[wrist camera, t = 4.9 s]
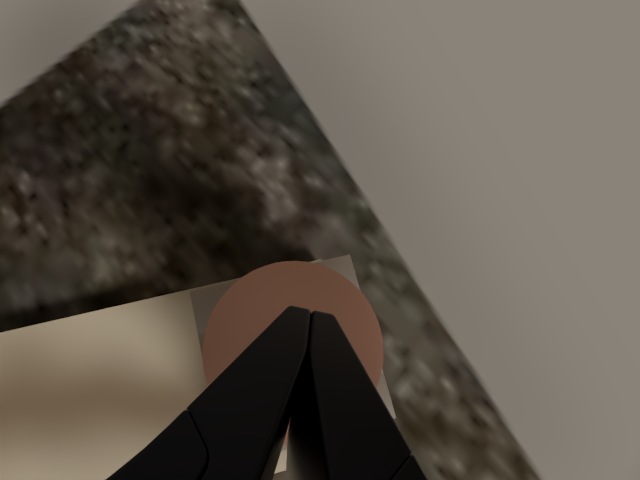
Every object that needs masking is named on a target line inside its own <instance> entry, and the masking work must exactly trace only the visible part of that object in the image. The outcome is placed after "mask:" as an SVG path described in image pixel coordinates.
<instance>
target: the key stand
mask: <svg viewBox="0 0 640 480" xmlns="http://www.w3.org/2000/svg"><path fill="white" fill-rule="evenodd" d="M310 263H315V264H319V265H322V266H324V267H327V268H330V269H332V270H334V271H335V272H337V273H339V274H341V275H342V276H344V277H345V278H347V279H348V280H349V281H350V282H351V283H353V284H354V285H355V286H356V287H357V288H358V289H359V290H360V288H359V285H358V281H357V278H356V274H355V271H354V267H353V264H352V260H351V257H350V255H345V256H341V257H337V258H332V259H328V260H324V261H322V260H321V259H319V260H315V261H311V262H310ZM241 278H242V277H241ZM241 278H236V279H232V280H228V281H223V282H219V283H215V284H210V285H206V286H202V287H197V288H193V289H189V290H184V291H180V292H175V293H171V294H167V295H162V296H158V297H154V298H149V299H145V300H141V301H136V302H132V303H128V304H123V305H119V306H114V307H110V308H106V309H101V310H97V311H93V312H88V313H84V314H80V315H75V316H71V317H67V318H62V319H58V320H53V321H49V322H45V323H40V324H36V325H32V326H27V327H23V328H19V329H14V330H10V331H5V332H1V333H0V480H106V479H107V478H108V477H109V476H111V475H112V474H113V473H115V472H116V471H117V470H118V469H119V468H121V467H122V466H123V465H124V464H125V463H127V462H128V461H129V460H130V459H132V458H133V457H134V456H135V455H136V454H138V453H139V452H140V451H141V450H143V449H144V448H145V447H146V446H147V445H148V444H149V443H150V442H151V441H152V440H153V439H155V438H156V437H157V436H158V435H159V434H160V433H161V432H162V431H163V430H164V429H165V428H166V427H167V426H169V425H170V424H171V423H172V422H173V421H174V420H175V419H176V418H177V417H178V416H179V415H180V414H181V413H182V412H183V411H184V410H186V409H187V407H188V406H189V405H190V404H191V403H192V402H193V401H194V400H195V399H196V398H197V397H198V396H199V395H200V394H201V393H202V392H203V391H204V390H205V389H206V388H207V387H208V385H207V381H206V377H205V374H204V367H203V341H204V335H205V331H206V327H207V324H208V321H209V319H210V316H211V314H212V312H213V310H214V308H215V307H216V305H217V303H218V301H219V300H220V299H221V298H222V296H223V295H224V294H225V292H226V291H227V290H228V289H229V288H230V287H231V286H232V285H233V284H234V283H236V282H237V281H238V280H239V279H241ZM376 389H377V391H378V393H379V394H380V396H381V398H382V400H383V401H384V403H385V405H386V407H387V409H388V410H389V412H390V414H391V416H392V417H393V419H394V418H396V416H395V412H394V409H393V405H392V402H391V398H390V395H389V391H388V388H387V384H386V380H385V377H384V373H383V370H382V371H381V376H380V379H379V383H378V386H377V388H376ZM286 460H287V446H285V445H283V447H282V450H281V453H280V457H279V460H278V463H277V466H276V469H275V473H278V472H281V471H284V470H286Z"/></svg>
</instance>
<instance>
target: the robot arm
mask: <svg viewBox="0 0 640 480" xmlns="http://www.w3.org/2000/svg"><path fill="white" fill-rule="evenodd" d="M289 421H290V422H289ZM288 425H289V429H288ZM287 429H288V440H287V460H286V480H428V478H427V477H426V475H425V473H424V472H423V470H422V468H421V466H420V465H419V463H418V461H417V459H416V458H415V456H414V455H412V451H411V449H410V447H409V446H408V444H407V442H406V440H405V438H404V437H403V435H402V433H401V431H400V430H399V428H398V426H397V424H396V423H395V421H394V419H393V417H392V416H391V414H390V412H389V410H388V409H387V407H386V405H385V403H384V401H383V400H382V398H381V396H380V394H379V393H378V391H377V389H376V387H375V386H374V384H373V382H372V380H371V379H370V377H369V375H368V373H367V371H366V370H365V368H364V366H363V364H362V363H361V361H360V359H359V357H358V356H357V354H356V352H355V350H354V349H353V347H352V345H351V343H350V341H349V340H348V338H347V336H346V334H345V333H344V331H343V329H342V327H341V326H340V324H339V322H338V320H337V319H336V317H335V316H334V315H333V314H330V313H325V312H321V311H313V312H312V313H311V311H310V310H309V309H306V308H301V307H297V306H288V307H287V308H286V309H285V310H284V311H283V312H282V313H281V314H280V315H279V316H278V317H277V318H276V319H275V320H274V321H273V322H272V323H271V324H270V325H269V326H268V327H267V328H266V329H265V330H264V331H263V332H262V333H261V334H260V335H259V336H258V337H257V338H256V339H255V340H254V341H253V342H252V343H251V344H250V345H249V346H248V347H247V348H246V349H245V350H244V351H243V352H242V353H241V354H240V355H239V356H238V357H237V358H236V359H235V360H234V361H233V362H232V363H231V364H230V365H229V366H228V367H227V368H226V369H225V370H224V371H223V372H222V373H221V374H220V375H219V376H218V377H217V378H216V379H215V380H214V381H213V382H212V383H211V384H210V385H209V386H208V387H207V388H206V389H205V390H204V391H203V392H202V393H201V394H200V395H199V396H198V397H197V398H196V399H195V400H194V401H193V402H192V403H191V404H190V405H189V406H188V407H187V409H186V410H184V411H183V412H182V413H181V414H180V415H179V416H178V417H177V418H176V419H175V420H174V421H173V422H172V423H171V424H170V425H169V426H167V427H166V428H165V429H164V430H163V431H162V432H161V433H160V434H159V435H158V436H157V437H156V438H155V439H153V440H152V441H151V442H150V443H149V444H148V445H147V446H146V447H145V448H144V449H143V450H141V451H140V452H139V453H138V454H136V455H135V456H134V457H133V458H132V459H130V460H129V461H128V462H127V463H125V464H124V465H123V466H122V467H121V468H119V469H118V470H117V471H116V472H115V473H113V474H112V475H111V476H109V477H108V478H107V479H106V480H272V479H273V476H274V473H275V469H276V466H277V463H278V460H279V457H280V453H281V450H282V447H283V444H284V440H285V436H286V433H287Z"/></svg>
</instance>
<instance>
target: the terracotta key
mask: <svg viewBox="0 0 640 480" xmlns="http://www.w3.org/2000/svg"><path fill="white" fill-rule="evenodd" d="M288 306H297V307H301V308H306V309H309V310H310V311H311V313H312V312H313V311H321V312H325V313H330V314H333V315H334V316H335V317H336V319H337V320H338V322H339V324H340V326H341V327H342V329H343V331H344V333H345V334H346V336H347V338H348V340H349V341H350V343H351V345H352V347H353V349H354V350H355V352H356V354H357V356H358V357H359V359H360V361H361V363H362V364H363V366H364V368H365V370H366V371H367V373H368V375H369V377H370V379H371V380H372V382H373V384H374V386H375V387H376V388H377V386H378V383H379V379H380V376H381V371H382V365H383V339H382V334H381V330H380V326H379V323H378V320H377V317H376V315H375V313H374V311H373V309H372V307H371V305H370V304H369V302H368V301H367V299H366V298H365V296H364V295H363V294H362V293H361V291H360V290H359V289H358V288H357V287H356V286H355V285H354V284H353V283H351V282H350V281H349V280H348V279H347V278H345V277H344V276H342V275H341V274H339V273H337V272H335V271H334V270H332V269H330V268H327V267H324V266H322V265H319V264H315V263H310V262H303V261H284V262H277V263H273V264H269V265H266V266H263V267H260V268H258V269H256V270H254V271H252V272H250V273H248V274H247V275H245V276H243V277H242V278H241V279H239V280H238V281H237V282H236V283H234V284H233V285H232V286H231V287H230V288H229V289H228V290H227V291H226V292H225V294H224V295H223V296H222V298H221V299H220V300H219V301H218V303H217V305H216V307H215V308H214V310H213V312H212V314H211V316H210V319H209V321H208V324H207V327H206V331H205V335H204V341H203V367H204V374H205V377H206V381H207V385H208V386H209V385H210V384H211V383H212V382H213V381H214V380H215V379H216V378H217V377H218V376H219V375H220V374H221V373H222V372H223V371H224V370H225V369H226V368H227V367H228V366H229V365H230V364H231V363H232V362H233V361H234V360H235V359H236V358H237V357H238V356H239V355H240V354H241V353H242V352H243V351H244V350H245V349H246V348H247V347H248V346H249V345H250V344H251V343H252V342H253V341H254V340H255V339H256V338H257V337H258V336H259V335H260V334H261V333H262V332H263V331H264V330H265V329H266V328H267V327H268V326H269V325H270V324H271V323H272V322H273V321H274V320H275V319H276V318H277V317H278V316H279V315H280V314H281V313H282V312H283V311H284V310H285V309H286V308H287V307H288ZM289 422H290V421H289ZM288 429H289V425H288ZM288 429H287V433H286V436H285V440H284V444H283V445H285V446H287V440H288Z"/></svg>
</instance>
